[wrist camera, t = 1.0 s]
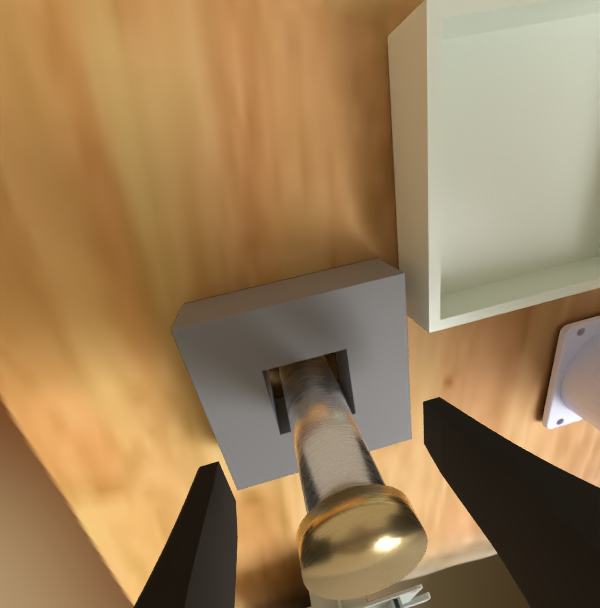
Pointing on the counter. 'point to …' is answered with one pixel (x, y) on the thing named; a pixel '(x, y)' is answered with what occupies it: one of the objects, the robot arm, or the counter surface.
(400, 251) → the tray
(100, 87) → the counter surface
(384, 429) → the pin block
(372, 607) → the metal bracket
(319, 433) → the steel pin
